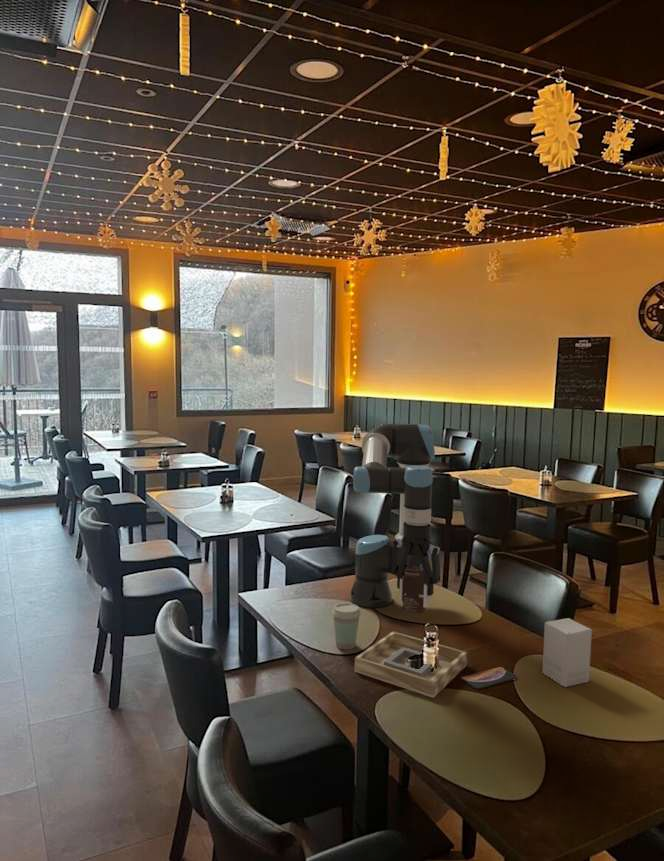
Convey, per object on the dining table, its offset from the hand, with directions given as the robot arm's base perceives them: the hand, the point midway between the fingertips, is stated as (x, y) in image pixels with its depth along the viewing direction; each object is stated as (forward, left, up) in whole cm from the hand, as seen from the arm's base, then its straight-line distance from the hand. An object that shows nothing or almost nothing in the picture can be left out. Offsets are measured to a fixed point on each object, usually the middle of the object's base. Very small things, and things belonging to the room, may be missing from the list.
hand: (414, 603), depth 178 cm
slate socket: (0, 0, -19) cm, 19 cm away
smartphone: (-7, +20, -20) cm, 29 cm away
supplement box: (-20, +37, -19) cm, 46 cm away
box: (0, 0, -2) cm, 2 cm away
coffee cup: (-1, -23, -19) cm, 30 cm away
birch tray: (0, 0, -19) cm, 19 cm away
